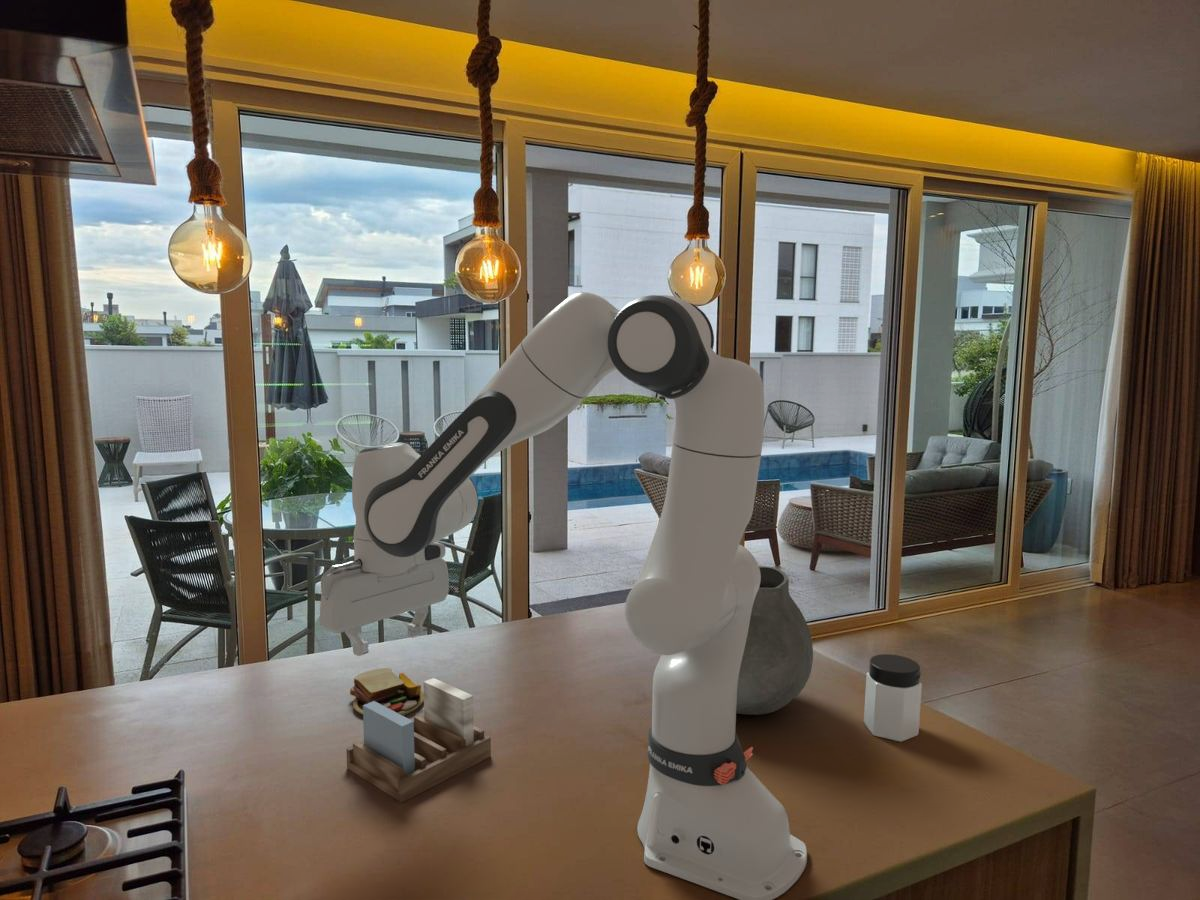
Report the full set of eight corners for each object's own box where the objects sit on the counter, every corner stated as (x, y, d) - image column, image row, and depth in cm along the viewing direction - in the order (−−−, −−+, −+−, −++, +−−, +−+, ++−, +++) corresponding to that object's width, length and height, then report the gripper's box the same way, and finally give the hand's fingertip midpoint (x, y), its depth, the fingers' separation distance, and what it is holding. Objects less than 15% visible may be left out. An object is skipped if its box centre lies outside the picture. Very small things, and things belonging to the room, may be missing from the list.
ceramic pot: (699, 668, 160) (702, 549, 157) (821, 691, 150) (827, 564, 146) (656, 719, 138) (659, 582, 135) (795, 751, 128) (802, 603, 124)
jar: (925, 742, 131) (930, 674, 129) (877, 742, 131) (881, 674, 129) (903, 717, 140) (907, 652, 138) (858, 717, 140) (861, 652, 138)
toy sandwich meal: (368, 729, 134) (367, 702, 133) (341, 700, 145) (340, 675, 144) (435, 709, 141) (435, 684, 141) (405, 683, 152) (405, 659, 151)
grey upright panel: (414, 778, 116) (413, 721, 115) (403, 784, 115) (402, 726, 113) (375, 755, 123) (374, 700, 121) (364, 760, 121) (362, 705, 120)
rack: (490, 756, 125) (490, 695, 124) (401, 802, 112) (400, 735, 111) (435, 727, 134) (434, 671, 133) (347, 768, 121) (344, 705, 120)
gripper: (333, 573, 104) (337, 672, 106) (454, 544, 120) (455, 630, 122) (308, 564, 108) (312, 660, 110) (428, 537, 124) (430, 621, 126)
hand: (388, 644), depth 116 cm, fingers open, 8 cm apart
